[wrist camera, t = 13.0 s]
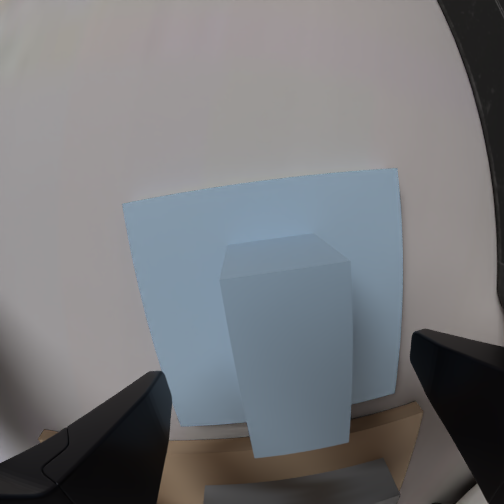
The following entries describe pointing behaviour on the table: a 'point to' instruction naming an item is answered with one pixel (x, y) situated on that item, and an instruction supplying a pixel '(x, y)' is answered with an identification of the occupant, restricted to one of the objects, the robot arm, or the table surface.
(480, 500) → the coffee press
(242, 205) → the lid
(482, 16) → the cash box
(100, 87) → the table surface
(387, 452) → the latch base
